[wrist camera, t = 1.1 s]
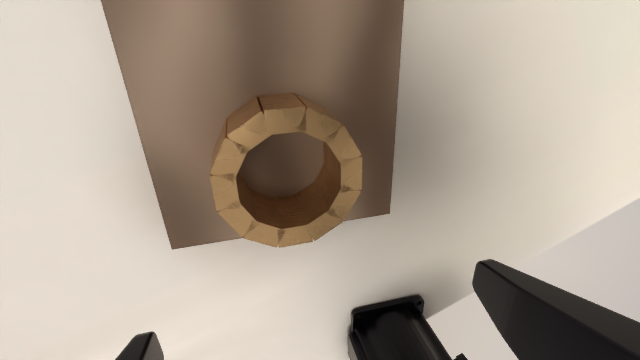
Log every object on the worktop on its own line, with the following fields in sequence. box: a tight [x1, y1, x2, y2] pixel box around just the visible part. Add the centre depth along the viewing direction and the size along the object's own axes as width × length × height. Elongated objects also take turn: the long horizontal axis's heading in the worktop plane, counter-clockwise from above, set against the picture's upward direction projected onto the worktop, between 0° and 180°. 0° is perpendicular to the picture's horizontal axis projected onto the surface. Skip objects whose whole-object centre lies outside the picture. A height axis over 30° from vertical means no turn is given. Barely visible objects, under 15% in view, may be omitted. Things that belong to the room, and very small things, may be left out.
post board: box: [101, 0, 404, 249], centre depth 15 cm, size 14×22×6 cm, turn 2°
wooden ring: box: [210, 93, 362, 247], centre depth 17 cm, size 7×7×4 cm
